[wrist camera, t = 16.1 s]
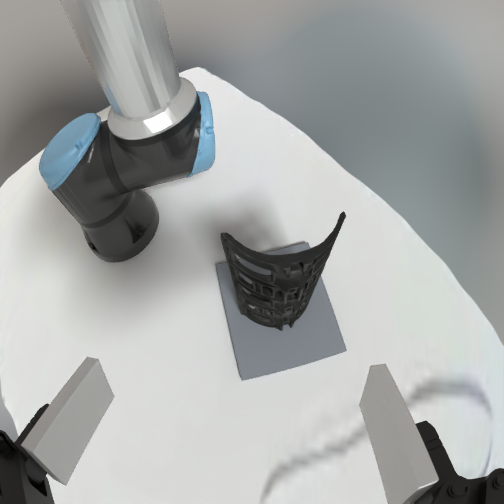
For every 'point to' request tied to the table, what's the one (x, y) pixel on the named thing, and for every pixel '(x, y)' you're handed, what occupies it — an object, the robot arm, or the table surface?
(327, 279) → the table surface
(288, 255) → the holder
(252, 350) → the mat
